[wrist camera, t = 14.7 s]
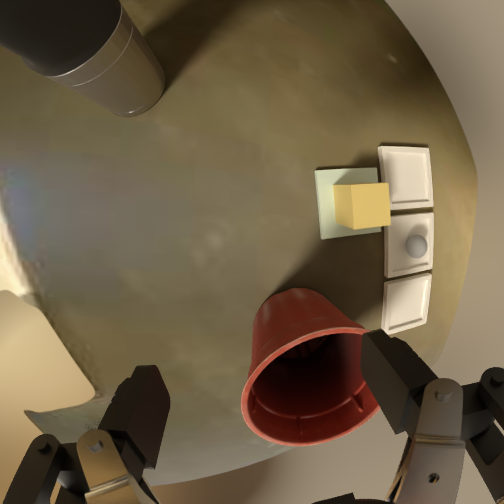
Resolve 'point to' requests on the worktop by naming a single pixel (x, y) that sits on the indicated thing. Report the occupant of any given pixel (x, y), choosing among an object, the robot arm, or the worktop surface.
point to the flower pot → (305, 372)
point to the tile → (326, 199)
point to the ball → (416, 246)
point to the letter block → (362, 205)
